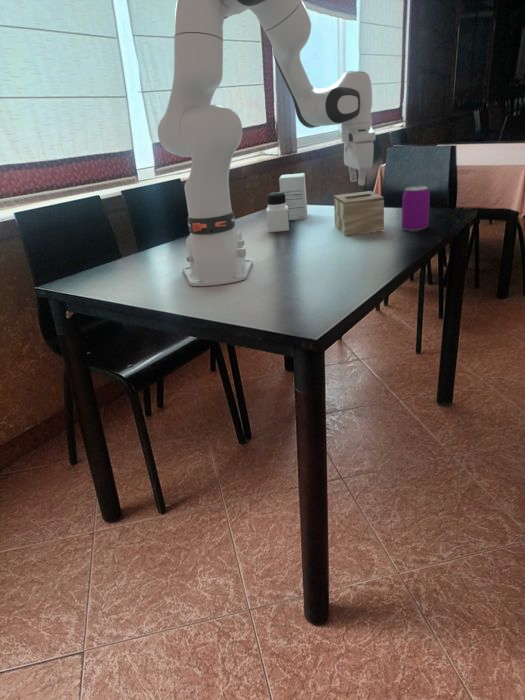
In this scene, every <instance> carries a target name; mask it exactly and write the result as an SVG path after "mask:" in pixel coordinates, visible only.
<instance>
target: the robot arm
mask: <svg viewBox="0 0 525 700" xmlns="http://www.w3.org/2000/svg"><path fill="white" fill-rule="evenodd" d="M247 10H250V11H251V13H253V14H255V17H256V18H257V19H258V21H259V24H260V25H261V27H262V29H263V31H264V33H265V35H266V36H267V38H268V40H269V42H270V45H271V48H272V56H273V58H274V60H275V63H276V66H277V68H278V70H279V72H280V74H281V77H282V79H283V82H284V83H285V85H286V88H287V89H288V92H289V94H290V96H291V99H292V101H293V105H294V109H295V115H296V116H297V119H298V121H299V123H300V124H301V125H302V126H304V127H306V128H309V129H313V128H318V127H325V126H335V125H340V126H341V142H342V143H343V163H344V166H347V167H348V173H349V180H350V182H351V183H353V182H357V185H358V186H365V185H366V177H367V171H369V170H371V169H372V168H373V166H374V165H373V163H374V151H375V149H374V147H375V144H374V141H376V138H377V137H376V132H375V130H374V128H373V118H372V107H373V88H372V81H371V76H370V74H369V73H367V72H365V71H362V70H349V71H345V72H343V74H342V76H341V77H340V78H339V79H338V80H337V81H335V83H333V84H331V85H330V86H329V87H324V88H316V87H315V86H313V84H312V83H311V82H310V80H309V78H308V75H307V73H306V70H305V68H304V66H303V63H302V61H301V51H302V50H303V48H304V47H305V46H306V44H307V43H308V41H309V39H310V37H311V31H312V23H311V22H312V21H311V17H310V15H309V12H308V10H307V8H306V6H305V3H304V2H303V0H176V4H175V13H174V26H173V27H174V28H173V30H174V31H173V32H174V33H173V37H174V38H173V40H174V41H173V42H174V43H173V45H174V46H173V47H174V49H173V50H174V54H173V56H174V58H173V60H174V61H173V62H174V63H173V81H172V86H171V87H172V88H171V90H170V91H171V92H170V94H169V95H170V97H169V100H168V104H167V108H166V111H165V113H164V115H163V117H162V118H161V119H160V121H159V123H158V127H157V137H158V140H159V142H160V144H161V146H162V148H163V149H164V150H165V151H167V152H168V153H170V154H172V155H174V156H177V157H181V158H191V164H190V166H191V168H190V172H189V176H188V178H187V180H186V181H185V183H184V194H185V201H186V206H187V212H188V217H187V225H188V231H189V235H188V236H187V238H186V239H185V241H186V242H185V243H186V250H187V254H188V256H187V257H186V260H187V262H188V263H189V265H186V266H184V267H182V272H183V275H184V277H185V278H186V280H187V283H188V284H189V285H190V286H191V287H209V286H219V285H224V284H225V285H226V284H233V283H236V282H240V281H243V280H246V279H247V277H248V275H249V274H250V271H251V268H252V267H253V264H254V262H253V259H252V258H248V257H247V254H246V253H247V252H246V247H244V245H245V241H244V239H243V234H242V232H241V231H239V230H238V229H237V228H236V227H235V226H236V222H235V220H236V219H235V215H234V211H233V210H232V204H231V196H230V195H231V194H230V182H229V179H230V170H231V164H232V160H233V156H234V153H235V152H236V150H237V149H238V148H239V146H240V144H241V142H242V139H243V131H244V129H243V125H242V124H243V123H242V120H241V119H240V117H239V115H238V113H237V112H236V111H235V110H233V109H232V108H230V107H226V106H222V105H217V104H211V103H212V100H213V98H214V97H213V96H214V94H215V92H216V91H217V89H218V88H219V86H220V85H221V83H222V80H223V74H224V73H223V72H224V71H223V70H224V69H223V67H224V66H223V65H224V64H223V62H224V61H223V60H224V52H223V51H224V27H223V26H224V22H225V19H227V18H229V17H232V16H235V15H240V14H242V13H244V12H246V11H247ZM357 170H358V176H357ZM357 177H358V178H357Z"/></svg>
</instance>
